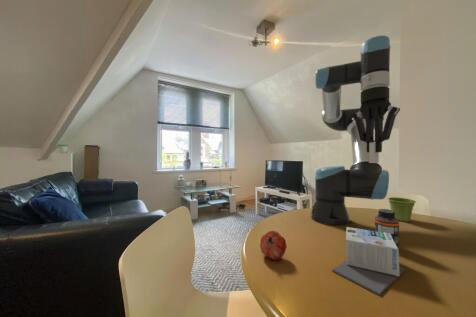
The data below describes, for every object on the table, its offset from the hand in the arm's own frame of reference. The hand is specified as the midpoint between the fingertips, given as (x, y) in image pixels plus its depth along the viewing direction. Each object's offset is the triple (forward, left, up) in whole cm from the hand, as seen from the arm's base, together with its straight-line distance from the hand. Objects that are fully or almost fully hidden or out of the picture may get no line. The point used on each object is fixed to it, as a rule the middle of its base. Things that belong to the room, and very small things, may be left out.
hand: (373, 162), depth 62 cm
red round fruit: (-12, -33, -26) cm, 44 cm away
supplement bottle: (+4, 0, -26) cm, 26 cm away
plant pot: (-2, +34, -26) cm, 43 cm away
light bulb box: (0, -17, -22) cm, 28 cm away
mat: (+6, -18, -26) cm, 32 cm away
